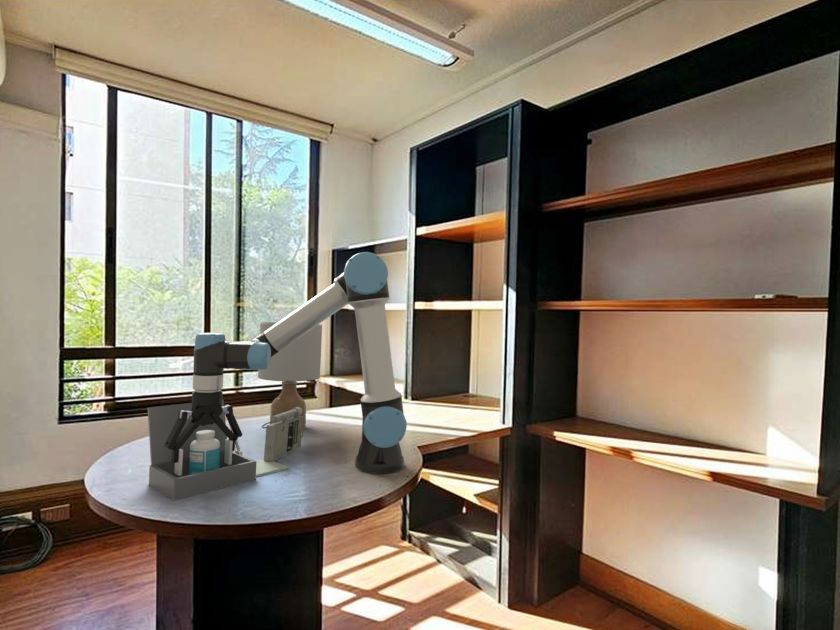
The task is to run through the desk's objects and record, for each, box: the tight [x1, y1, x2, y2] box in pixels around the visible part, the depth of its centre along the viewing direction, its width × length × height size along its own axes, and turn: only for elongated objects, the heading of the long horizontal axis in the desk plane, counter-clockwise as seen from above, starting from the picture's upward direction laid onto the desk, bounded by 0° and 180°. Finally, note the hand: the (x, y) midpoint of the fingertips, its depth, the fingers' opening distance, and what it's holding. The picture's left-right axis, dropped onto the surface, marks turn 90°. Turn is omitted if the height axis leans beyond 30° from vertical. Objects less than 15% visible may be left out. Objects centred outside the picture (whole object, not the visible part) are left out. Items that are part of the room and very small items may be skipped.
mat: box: [255, 458, 289, 478], centre depth 142 cm, size 11×11×1 cm
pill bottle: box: [189, 430, 220, 475], centre depth 129 cm, size 8×7×14 cm
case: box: [147, 398, 257, 501], centre depth 131 cm, size 19×23×20 cm
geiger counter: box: [261, 407, 304, 462], centre depth 159 cm, size 14×6×25 cm
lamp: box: [257, 321, 323, 430], centre depth 192 cm, size 24×24×42 cm
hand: (203, 468), depth 129 cm, fingers open, 13 cm apart
